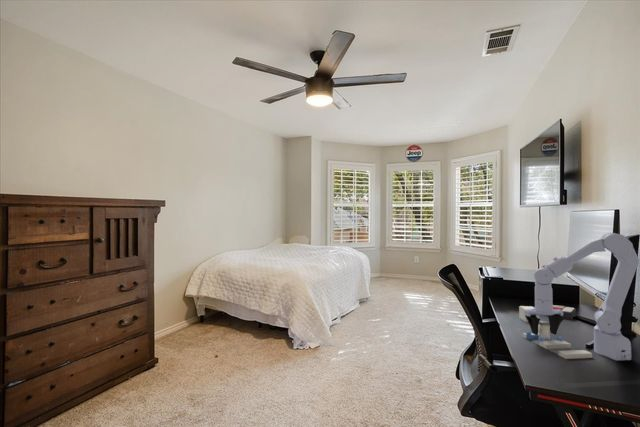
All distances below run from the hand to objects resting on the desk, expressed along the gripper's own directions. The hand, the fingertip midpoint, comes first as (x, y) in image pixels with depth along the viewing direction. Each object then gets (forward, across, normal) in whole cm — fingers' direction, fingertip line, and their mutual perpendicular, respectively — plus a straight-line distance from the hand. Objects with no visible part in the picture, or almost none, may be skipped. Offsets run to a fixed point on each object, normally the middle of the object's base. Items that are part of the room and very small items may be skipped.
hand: (544, 333), depth 122 cm
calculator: (+4, -36, -37) cm, 52 cm away
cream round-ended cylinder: (+3, 0, 0) cm, 3 cm away
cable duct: (+4, 0, +5) cm, 6 cm away
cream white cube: (+4, -15, -28) cm, 33 cm away
